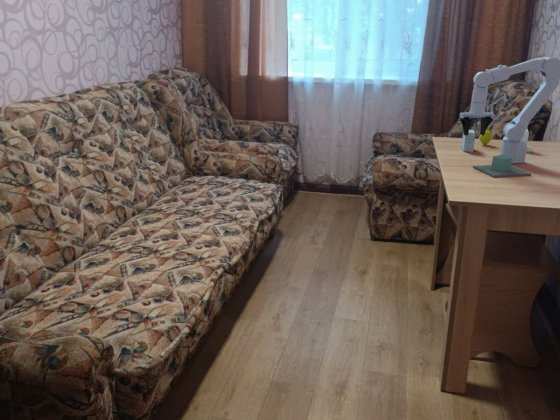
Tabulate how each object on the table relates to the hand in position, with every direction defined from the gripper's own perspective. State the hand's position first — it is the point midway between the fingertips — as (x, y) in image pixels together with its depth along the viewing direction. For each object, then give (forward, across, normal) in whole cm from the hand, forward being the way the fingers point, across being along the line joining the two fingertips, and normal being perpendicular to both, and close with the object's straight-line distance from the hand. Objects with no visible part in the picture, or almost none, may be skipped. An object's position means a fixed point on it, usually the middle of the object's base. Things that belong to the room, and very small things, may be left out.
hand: (473, 134), depth 224 cm
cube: (+10, -1, +20) cm, 22 cm away
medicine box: (+11, -8, -16) cm, 21 cm away
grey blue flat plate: (+10, -1, +20) cm, 23 cm away
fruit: (+11, -22, -24) cm, 34 cm away
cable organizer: (+10, -32, -12) cm, 36 cm away
